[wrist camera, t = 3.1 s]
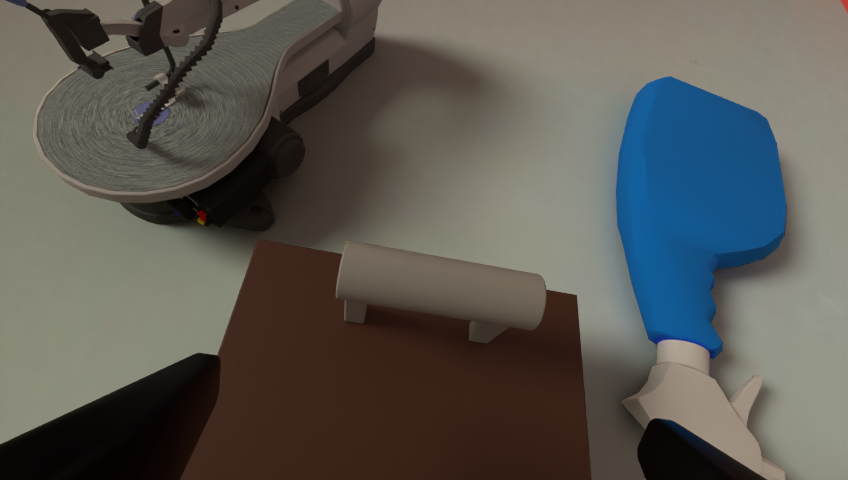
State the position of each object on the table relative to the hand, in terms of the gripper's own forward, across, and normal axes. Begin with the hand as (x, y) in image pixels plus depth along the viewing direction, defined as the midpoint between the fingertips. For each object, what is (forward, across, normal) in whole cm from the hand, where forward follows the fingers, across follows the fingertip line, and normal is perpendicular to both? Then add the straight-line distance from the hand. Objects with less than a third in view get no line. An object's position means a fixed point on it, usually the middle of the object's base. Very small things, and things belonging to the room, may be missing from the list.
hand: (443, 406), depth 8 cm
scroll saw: (+19, +10, -4) cm, 22 cm away
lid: (+4, 0, +4) cm, 6 cm away
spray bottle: (+16, -17, -1) cm, 24 cm away
